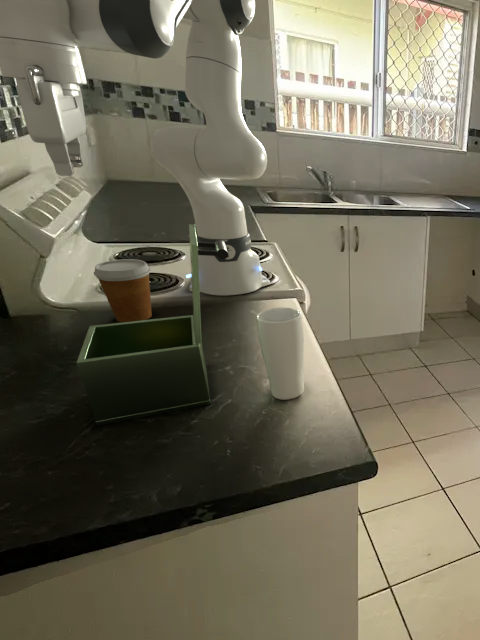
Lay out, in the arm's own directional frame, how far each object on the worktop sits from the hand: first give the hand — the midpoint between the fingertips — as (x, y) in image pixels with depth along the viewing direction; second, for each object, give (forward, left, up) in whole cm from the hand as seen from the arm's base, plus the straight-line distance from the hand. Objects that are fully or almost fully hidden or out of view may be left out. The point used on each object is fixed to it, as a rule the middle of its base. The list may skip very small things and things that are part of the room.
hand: (71, 170), depth 72 cm
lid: (+12, +13, -15) cm, 23 cm away
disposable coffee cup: (-25, 0, -34) cm, 42 cm away
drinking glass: (+20, +24, -34) cm, 46 cm away
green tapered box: (+12, +5, -34) cm, 37 cm away
